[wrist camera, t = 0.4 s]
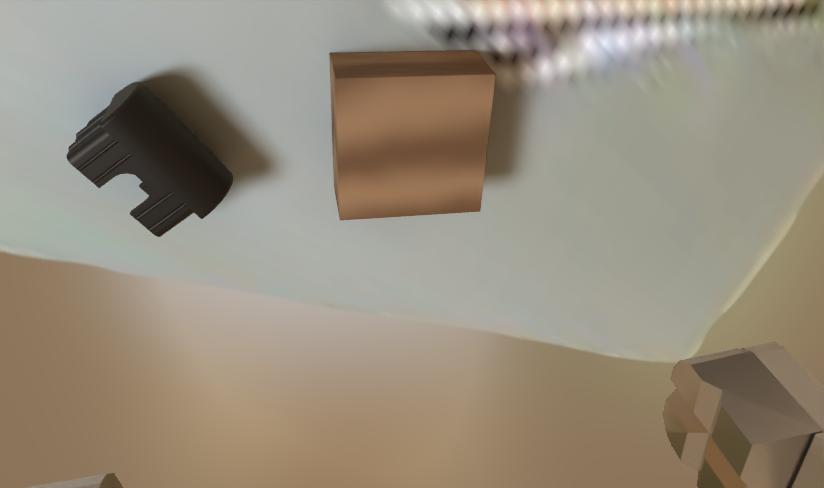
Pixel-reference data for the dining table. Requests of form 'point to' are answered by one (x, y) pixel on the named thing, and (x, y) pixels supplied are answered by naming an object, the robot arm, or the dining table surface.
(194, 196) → the end cap
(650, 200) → the dining table surface
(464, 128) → the walnut block
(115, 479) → the robot arm
